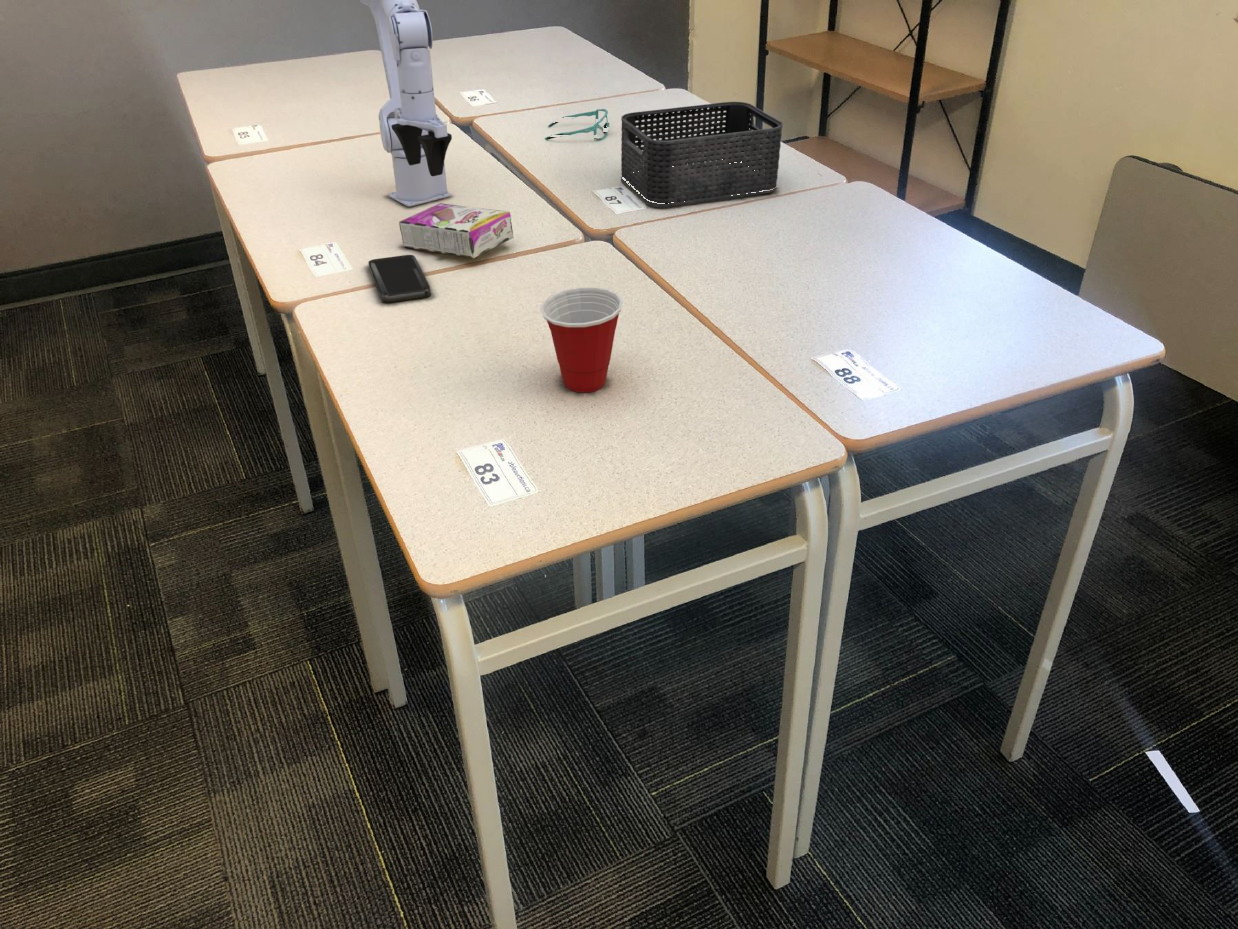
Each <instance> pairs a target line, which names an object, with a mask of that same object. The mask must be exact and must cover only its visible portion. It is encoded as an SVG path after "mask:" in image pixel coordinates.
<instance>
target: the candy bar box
mask: <svg viewBox="0 0 1238 929" xmlns="http://www.w3.org/2000/svg"><path fill="white" fill-rule="evenodd" d="M398 224H399V230H400V234H401V239H402V240H401V241H402V245H403V247H404V248H408V249H415V250H419V251H427V252H433V253H439V254H446V255H450V256H459V257H465V258H471V259H475V258H477V257H478V256H481V255H483V254H485V253H486V252H489V251H491V250H493V249H495V248H496V247H499V246H501V245H503V244H504V243H506V242H508V241H510V240H512V239H514V231H513V230H514V229H513V223H512V216H511V212H510V211H506V210H498V209H492V208H491V209H489V208H483V207H482V208H481V207H473V206H466V205H465V206H464V205H458V204H457V205H456V204H450V203H443V202H442V203H441V202H439V203H437V204H435V205H433V206H431V207H429V208H427V209H424V210H422V211H420V212H418V213H415V214H413V215H410V216H409V217H406V218H404V219H403V220H399V222H398Z"/></svg>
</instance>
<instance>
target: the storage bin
mask: <svg viewBox="0 0 1238 929" xmlns="http://www.w3.org/2000/svg"><path fill="white" fill-rule="evenodd" d="M755 118H756V119H757V120H759V121H760V122H761V123H764V124H765V125H767V126H769V128H761V129H760V128H758V127H757V126H755V120H754V119H755ZM620 121H621V137H620V138H621V139H620V140H621V146H620V147H621V148H620V151H621V153H620V157H621V158H620V161H621V164H620V165H621V166H620V171H621V175H622V177H624V178H625V179H626V181H629V183H630V184H631V185H632V186H634V188H635V189H636V190H638V191H639V192H640V194H638V192H636V190H634V189H633V188H632V187H631V185H630V186H629V185H628V184H629V183H628V184H627V183H626V181H624V180H623V179H622V177H620V181H621V183H622V184H623V185H624V186H625V187H627V189H629V191H631V192H632V193H633V194H634V195H635V196H637V198H639V199H640V201H642V202H643V203H644V204H645V205H647V206H650V207H653V208H662V209H663V208H675V207H681V206H690V205H696V204H704V203H710V202H711V203H712V202H718V201H725V200H732V199H737V198H746V197H752V196H758V195H765V194H769V193H772V192H775V191H776V190H777V187H776V186H777V185H778V184H777V183H778V182H777V181H778V178H779V177H778V176H779V175H778V174H779V168H780V166H779V164H780V157H781V156H780V154H781V153H780V152H781V147H782V146H781V145H782V144H781V142H782V131H783V125H784V123H783V122H782V121H781V120H779V119H777V118H775V117H773V116H771V115H770V114H768V113H767V112H765V111H763V110H761V109H759V108H758V107H756V106H754V105H753V104H751V103H748V102H743V101H723V102H714V103H706V104H698V105H697V104H696V105H687V106H679V107H671V108H662V109H653V110H644V111H643V110H642V111H635V112H628V113H624V114H623V115H621V120H620ZM722 159H723V160H722ZM741 161H742V163H740V162H741ZM734 162H737V163H734ZM729 163H731V164H729ZM672 166H674V167H672ZM748 166H749V167H748ZM754 170H755V171H754ZM638 171H639V172H638ZM633 172H634V173H633ZM775 187H776V188H775ZM773 188H775V189H773ZM770 189H773V190H770ZM762 190H770V191H763V192H759V191H762ZM751 192H756V193H751ZM746 193H748V194H746ZM641 194H642V195H643V196H644V197H645V198H646V199H648V200H650V201H654V202H657V203H665V204H657V203H652V202H649V201H647V200H646V199H644V198H643V196H641ZM737 194H740V195H737ZM731 195H733V196H731ZM684 201H685V202H684ZM671 202H674V203H671ZM668 203H669V204H668Z"/></svg>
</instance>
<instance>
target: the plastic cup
mask: <svg viewBox="0 0 1238 929" xmlns="http://www.w3.org/2000/svg"><path fill="white" fill-rule="evenodd" d="M623 304H624V300H623V298H622V297H621V296H620V294H619V293H617V292H615V291H613V290H611V289H609V288H603V287H597V286H578V287H574V288H573V287H572V288H568V289H563V290H560V291H558V292H556V293H554V294H553V293H552V294H551V295H549V296H548V297H547V298H546V299H544V300H543V301H542V302H541V306H540V308H539V311H540V313H541V315H542V317H543V319H544V320H545V321H546V323H547V325H548V328H549V331H550V335H551V338H552V343H553V347H554V351H555V355H556V360H557V364H559V365H558V366H559V371H560V376H561V380H562V381H563V385H564V387H566V388H567V389H568V390H569V391H573V392H576V393H585V394H586V393H592V392H595V391H598V390H600V389H602V388H603V387H604V386H605V383H606V380H607V377H608V371H609V366H610V363H611V359H612V352H613V345H614V340H615V335H616V334H615V333H616V330H617V329H616V328H617V325H618V320H619V316H620V313H621V312H622V308H623Z"/></svg>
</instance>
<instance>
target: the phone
mask: <svg viewBox="0 0 1238 929" xmlns="http://www.w3.org/2000/svg"><path fill="white" fill-rule="evenodd" d="M367 263H368V269H369V271H370V274H371V277H372V280H373V282H374V285H375V288H376V291H377V292H378V295H379V298H380V301H381V302H382V303H386V304H388V303H389V304H390V303H396V302H397V303H398V302H403V301H412V300H418V299H424V298H428V297H430V296H431V294H432V293H431V287H430V284H429V282H428V280H427V279H426V275H425V274H424V271H423V270H422V268H421V266H420V264H419V261H418V259H417V258H416V256H415V255H414V254H404V255H403V254H402V255H396V256H388V257H381V258H380V257H379V258H372V259H370V260H368V262H367Z"/></svg>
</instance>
